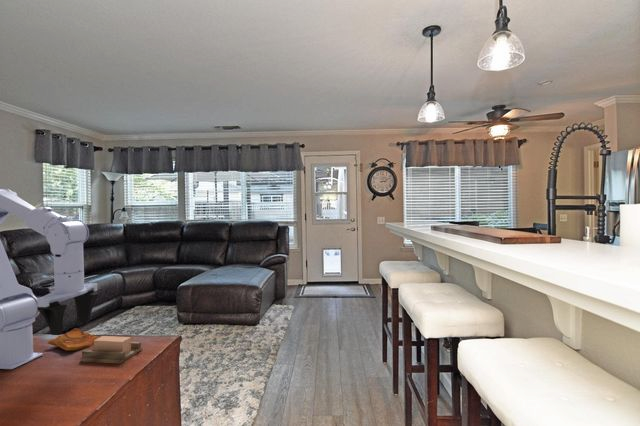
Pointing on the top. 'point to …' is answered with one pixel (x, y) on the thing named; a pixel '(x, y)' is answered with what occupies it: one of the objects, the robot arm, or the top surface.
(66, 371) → the top surface
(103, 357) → the grey u-channel
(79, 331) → the pottery fragment
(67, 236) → the robot arm
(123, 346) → the clay strip
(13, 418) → the top surface
